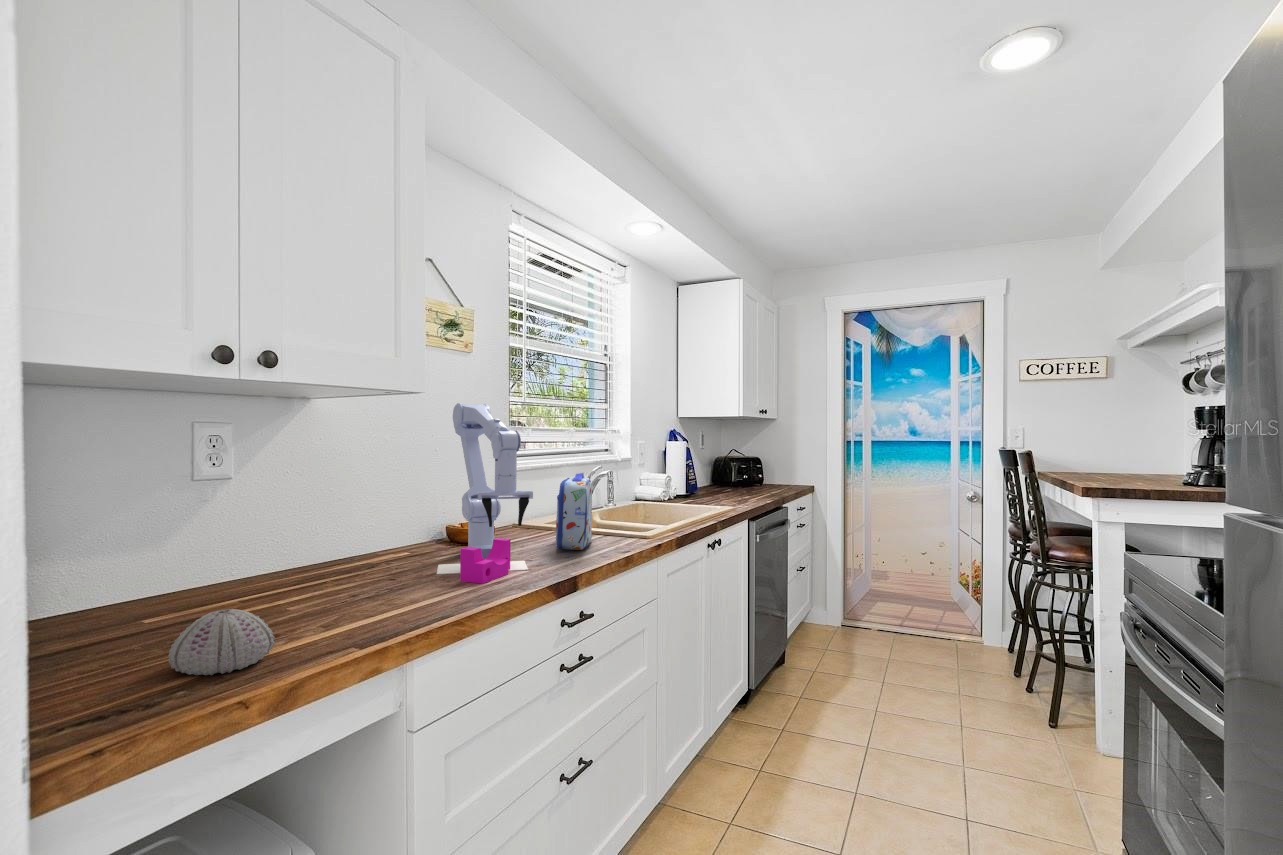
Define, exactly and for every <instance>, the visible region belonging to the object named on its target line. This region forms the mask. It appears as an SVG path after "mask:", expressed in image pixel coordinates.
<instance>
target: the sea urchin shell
mask: <svg viewBox="0 0 1283 855" xmlns="http://www.w3.org/2000/svg"><path fill="white" fill-rule="evenodd" d="M275 638H276V637H275V636H274V632H273V629H271V627H269V624H268V623H265V619H262V618H260V616H259V615H256V614H254V613H253V612H249V611H246V610H242V609H238V608H237V609H235V608H228V609H224V608H223V609H221V610H220V609H219V610H215V611H211V612H208V613H207V614H205V615H201V616H200V618H197V619H196V620H195V621H193V623H192V624H190V625H189V626H186V628H185V629H184V630H183V631H182V632H180V634H179V636H178V637H177V638H176V639H174V643H172V644H171V646H170V649H169V651H168V652H169V653H168V655H167V657H168V658H169V660H168V661H167V662H168V664H170V668H171V669H174V670H175V672H180V673H181V674H187V675H188V676H189V675H194V676H199V675H200V676H201V675H204V676H209V675H210V676H213V675H214V674H221V675H224V674H225V673H232V672H233V671H235V670H238V671H239V670H242V669H245V668H248V666H251V665H253V664H257V663H258V662H259V661H261V660H263V659H264V657H265V655H269V654H270V651H271V650H273V646H274V645H275V644H276V642H275V641H274V639H275Z"/></svg>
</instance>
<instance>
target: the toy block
mask: <svg viewBox="0 0 1283 855" xmlns="http://www.w3.org/2000/svg"><path fill="white" fill-rule="evenodd" d="M511 546H512V545H511V538H502V537H497V538H494V539H493V545H492V549H491V551H490V553H489V555H488V556H487V558H486V559H485V560H484V558H483V556H482V552H481V548H475V547H468V546H466V547H463V548H462V547H461V548H460V556H459V558H460V559H459V561H460V562H459V564H460V573H459V574H460V575H459V576H460V578H459V581H460V582H466V583H474V584H482V585H483V584H485V583H488V582H491V581H494V580H497V579H498V578H502V577H504V576H507V575H509V571H508V570H509V569H510V561H511Z"/></svg>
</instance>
